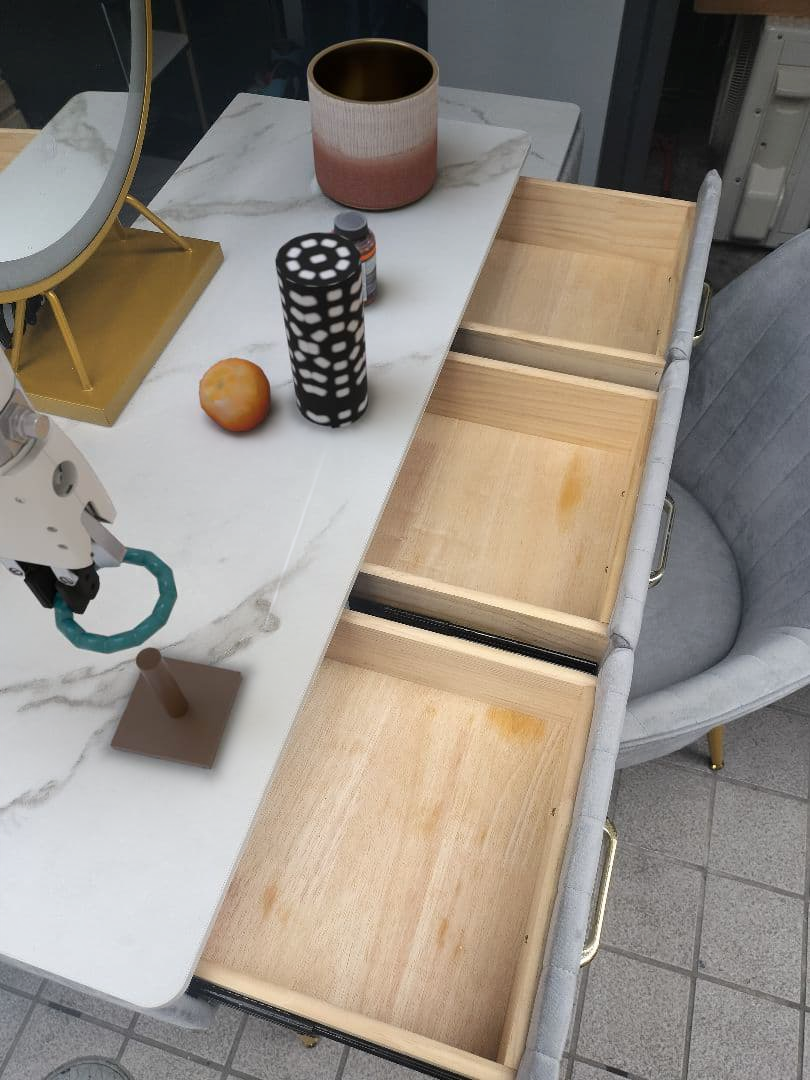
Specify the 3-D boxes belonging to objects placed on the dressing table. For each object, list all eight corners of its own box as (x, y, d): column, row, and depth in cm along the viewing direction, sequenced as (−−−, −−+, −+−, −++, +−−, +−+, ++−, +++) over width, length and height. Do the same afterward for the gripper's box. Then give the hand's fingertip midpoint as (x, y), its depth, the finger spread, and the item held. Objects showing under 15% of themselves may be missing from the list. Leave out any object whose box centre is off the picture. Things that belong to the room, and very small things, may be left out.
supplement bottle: (322, 298, 106) (314, 221, 96) (351, 275, 109) (346, 197, 99) (357, 317, 104) (353, 240, 94) (386, 293, 107) (385, 216, 97)
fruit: (300, 396, 94) (265, 371, 87) (260, 451, 95) (222, 431, 87) (254, 362, 97) (216, 335, 90) (216, 416, 98) (175, 393, 90)
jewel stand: (113, 749, 72) (71, 699, 63) (151, 659, 77) (117, 600, 68) (210, 770, 71) (182, 722, 62) (242, 677, 76) (220, 619, 67)
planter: (338, 138, 127) (330, 29, 114) (448, 156, 124) (454, 46, 111) (299, 204, 117) (286, 93, 104) (418, 224, 115) (420, 114, 102)
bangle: (36, 642, 56) (30, 634, 55) (87, 544, 61) (82, 535, 60) (151, 665, 56) (147, 658, 55) (194, 564, 60) (191, 555, 59)
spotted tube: (311, 438, 92) (292, 296, 76) (287, 389, 97) (263, 245, 80) (379, 416, 94) (374, 272, 78) (352, 369, 99) (342, 224, 82)
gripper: (121, 390, 45) (194, 569, 60) (-137, 350, 46) (-3, 534, 62) (62, 497, 40) (156, 660, 56) (-219, 449, 42) (-53, 620, 58)
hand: (72, 593), depth 59 cm, fingers closed on bangle, 1 cm apart
